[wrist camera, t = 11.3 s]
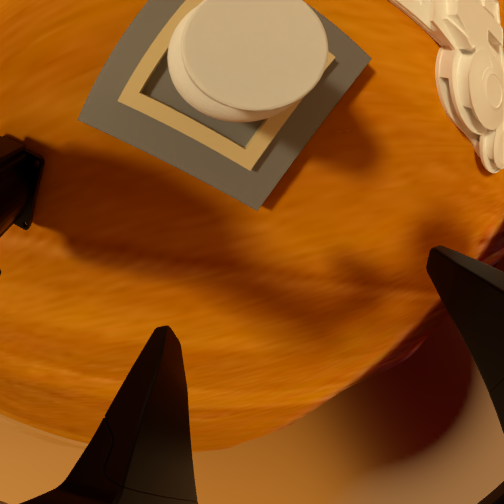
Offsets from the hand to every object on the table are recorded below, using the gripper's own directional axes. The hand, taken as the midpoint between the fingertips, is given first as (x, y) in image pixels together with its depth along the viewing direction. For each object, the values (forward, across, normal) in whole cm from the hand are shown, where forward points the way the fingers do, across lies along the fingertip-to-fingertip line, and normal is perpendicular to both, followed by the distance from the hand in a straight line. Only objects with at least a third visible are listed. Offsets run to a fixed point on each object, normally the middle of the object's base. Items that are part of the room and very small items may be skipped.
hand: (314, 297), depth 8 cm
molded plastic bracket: (+14, -23, -11) cm, 29 cm away
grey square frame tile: (+13, 0, -7) cm, 15 cm away
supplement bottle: (+12, 0, -7) cm, 14 cm away
